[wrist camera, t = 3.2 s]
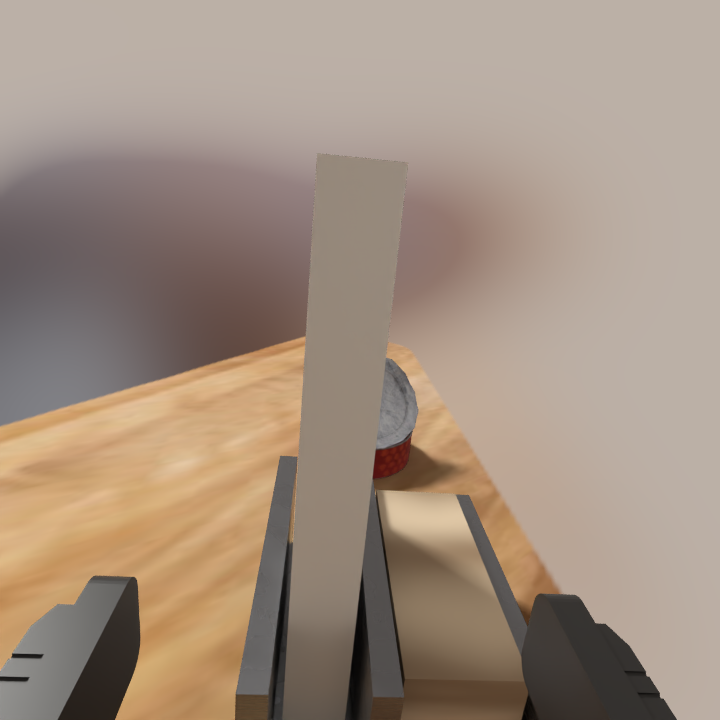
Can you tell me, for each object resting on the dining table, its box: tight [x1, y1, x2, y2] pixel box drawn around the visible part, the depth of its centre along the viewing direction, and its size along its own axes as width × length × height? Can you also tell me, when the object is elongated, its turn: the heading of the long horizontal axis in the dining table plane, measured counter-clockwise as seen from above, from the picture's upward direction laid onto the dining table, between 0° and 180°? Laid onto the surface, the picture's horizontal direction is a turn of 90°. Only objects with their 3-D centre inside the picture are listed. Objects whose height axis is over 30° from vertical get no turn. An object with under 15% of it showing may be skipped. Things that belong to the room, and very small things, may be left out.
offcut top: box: [376, 490, 528, 720], centre depth 25 cm, size 12×5×2 cm, turn 3°
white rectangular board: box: [282, 153, 408, 720], centre depth 22 cm, size 9×2×22 cm, turn 3°
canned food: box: [373, 358, 418, 479], centre depth 47 cm, size 11×10×10 cm
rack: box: [235, 456, 539, 720], centre depth 25 cm, size 15×12×8 cm
